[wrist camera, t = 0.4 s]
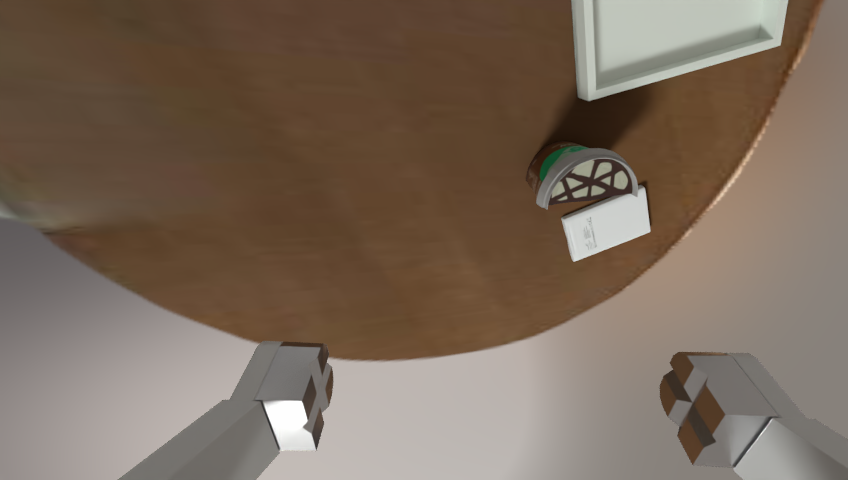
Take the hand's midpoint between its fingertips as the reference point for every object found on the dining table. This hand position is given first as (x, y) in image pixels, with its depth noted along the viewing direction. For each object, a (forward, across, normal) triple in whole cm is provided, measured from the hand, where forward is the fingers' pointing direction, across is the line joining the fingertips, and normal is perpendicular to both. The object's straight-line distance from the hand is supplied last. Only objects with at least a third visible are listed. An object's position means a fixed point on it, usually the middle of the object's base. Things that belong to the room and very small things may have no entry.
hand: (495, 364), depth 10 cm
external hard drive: (+48, -24, +24) cm, 59 cm away
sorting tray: (+50, -25, -7) cm, 56 cm away
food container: (+47, -15, +12) cm, 51 cm away
